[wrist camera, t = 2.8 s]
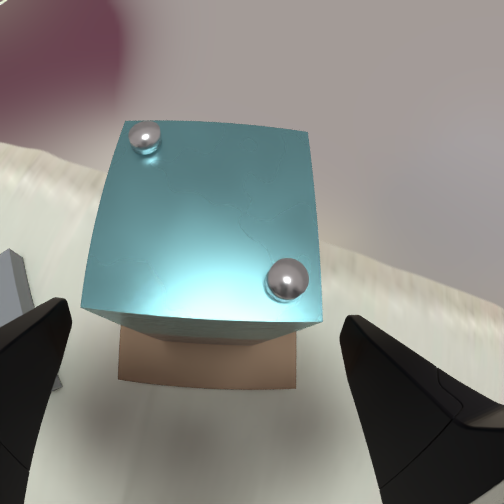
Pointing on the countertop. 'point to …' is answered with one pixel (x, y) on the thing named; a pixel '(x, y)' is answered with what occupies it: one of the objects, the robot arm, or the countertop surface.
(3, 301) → the stand
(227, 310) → the block
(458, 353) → the countertop surface
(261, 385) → the stand
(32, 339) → the robot arm
